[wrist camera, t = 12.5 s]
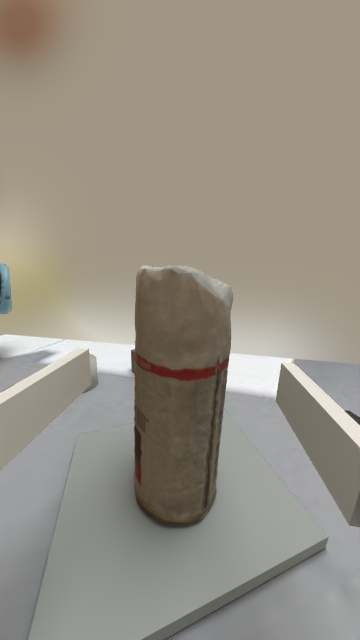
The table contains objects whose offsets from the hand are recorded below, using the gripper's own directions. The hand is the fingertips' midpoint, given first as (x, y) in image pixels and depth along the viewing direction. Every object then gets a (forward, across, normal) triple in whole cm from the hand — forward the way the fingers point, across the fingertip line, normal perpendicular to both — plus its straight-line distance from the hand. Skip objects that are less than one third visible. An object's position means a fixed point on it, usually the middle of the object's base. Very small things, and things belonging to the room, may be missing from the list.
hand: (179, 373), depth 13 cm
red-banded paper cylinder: (+3, 0, -13) cm, 13 cm away
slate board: (+3, -1, -14) cm, 14 cm away
